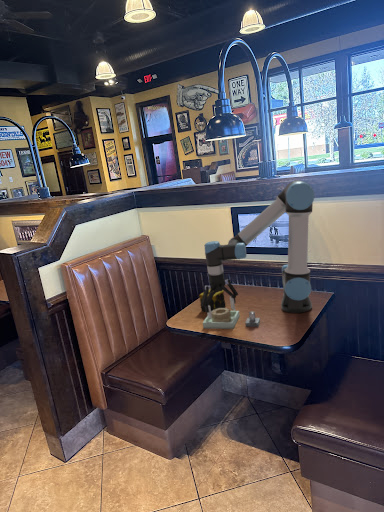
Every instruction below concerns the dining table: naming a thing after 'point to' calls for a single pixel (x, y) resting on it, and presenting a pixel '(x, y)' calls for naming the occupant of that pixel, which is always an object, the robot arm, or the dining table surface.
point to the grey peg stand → (252, 320)
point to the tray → (222, 325)
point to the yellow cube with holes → (214, 301)
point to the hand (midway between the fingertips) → (221, 313)
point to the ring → (221, 315)
